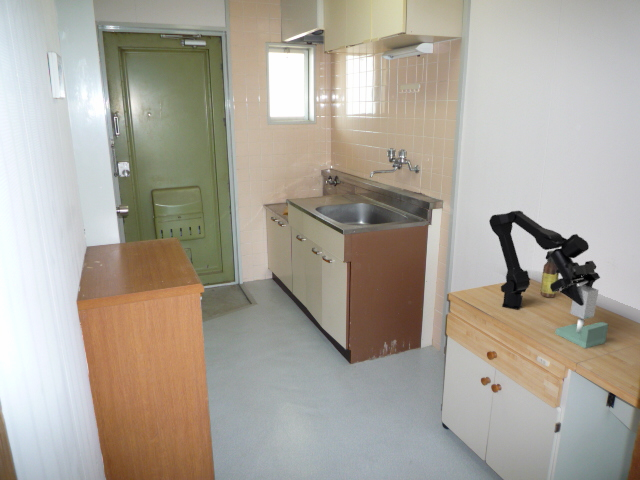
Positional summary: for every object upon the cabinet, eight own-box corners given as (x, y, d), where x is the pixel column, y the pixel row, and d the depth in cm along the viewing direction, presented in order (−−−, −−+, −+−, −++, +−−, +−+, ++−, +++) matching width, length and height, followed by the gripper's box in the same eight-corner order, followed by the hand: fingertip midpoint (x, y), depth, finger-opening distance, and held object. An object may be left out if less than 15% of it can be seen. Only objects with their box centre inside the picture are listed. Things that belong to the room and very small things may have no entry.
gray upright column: (570, 313, 166) (574, 287, 163) (580, 311, 168) (584, 284, 165) (583, 319, 161) (588, 292, 159) (593, 316, 163) (598, 289, 161)
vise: (555, 333, 170) (557, 315, 168) (574, 328, 174) (577, 311, 172) (585, 348, 159) (588, 329, 157) (605, 342, 163) (608, 324, 161)
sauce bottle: (557, 298, 201) (564, 254, 196) (541, 297, 202) (547, 253, 197) (553, 293, 207) (559, 250, 202) (538, 292, 209) (544, 249, 203)
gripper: (562, 256, 158) (586, 298, 152) (599, 250, 166) (624, 290, 159) (540, 271, 168) (562, 311, 161) (576, 264, 175) (599, 303, 168)
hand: (587, 303), depth 162 cm, fingers closed on gray upright column, 5 cm apart
